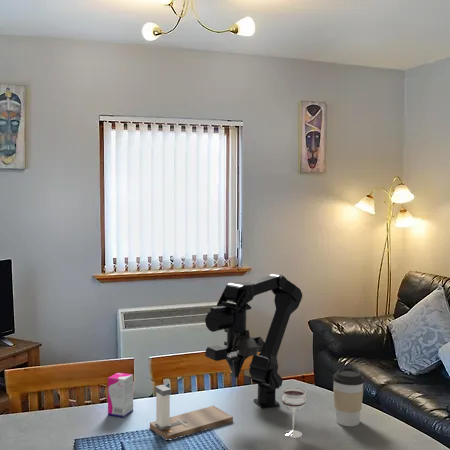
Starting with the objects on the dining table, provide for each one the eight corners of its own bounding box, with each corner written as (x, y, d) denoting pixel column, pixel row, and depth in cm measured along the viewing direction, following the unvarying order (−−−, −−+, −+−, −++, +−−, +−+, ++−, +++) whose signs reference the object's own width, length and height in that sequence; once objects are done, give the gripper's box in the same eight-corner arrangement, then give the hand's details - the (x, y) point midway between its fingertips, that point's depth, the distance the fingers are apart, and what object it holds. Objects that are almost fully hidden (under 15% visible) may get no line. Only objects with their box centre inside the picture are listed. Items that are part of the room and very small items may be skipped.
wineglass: (308, 431, 152) (309, 389, 151) (301, 441, 146) (302, 397, 145) (285, 426, 155) (286, 385, 154) (277, 436, 149) (278, 393, 148)
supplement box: (133, 410, 165) (133, 373, 165) (124, 418, 160) (124, 380, 159) (117, 407, 167) (117, 371, 166) (107, 415, 162) (107, 377, 161)
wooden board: (213, 410, 166) (213, 405, 166) (232, 421, 158) (232, 416, 158) (149, 427, 153) (149, 422, 153) (167, 441, 145) (167, 435, 145)
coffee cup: (363, 429, 154) (365, 377, 153) (331, 426, 155) (332, 375, 155) (362, 416, 162) (363, 367, 162) (331, 413, 164) (332, 365, 163)
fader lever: (163, 422, 152) (163, 384, 152) (171, 427, 149) (171, 389, 148) (154, 424, 151) (154, 386, 150) (162, 430, 147) (162, 391, 147)
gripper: (226, 336, 148) (226, 392, 149) (278, 327, 159) (277, 379, 160) (204, 327, 157) (204, 380, 158) (254, 319, 168) (253, 368, 169)
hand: (235, 377), depth 161 cm, fingers closed
